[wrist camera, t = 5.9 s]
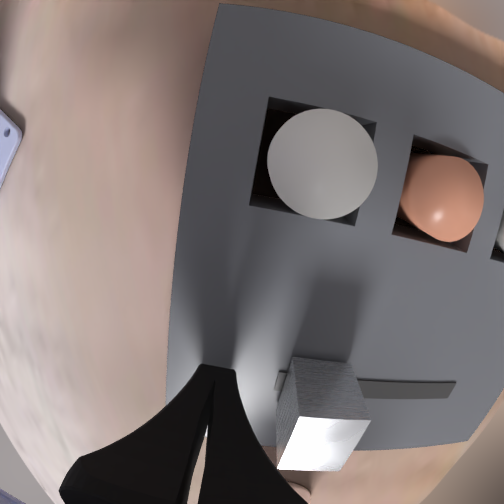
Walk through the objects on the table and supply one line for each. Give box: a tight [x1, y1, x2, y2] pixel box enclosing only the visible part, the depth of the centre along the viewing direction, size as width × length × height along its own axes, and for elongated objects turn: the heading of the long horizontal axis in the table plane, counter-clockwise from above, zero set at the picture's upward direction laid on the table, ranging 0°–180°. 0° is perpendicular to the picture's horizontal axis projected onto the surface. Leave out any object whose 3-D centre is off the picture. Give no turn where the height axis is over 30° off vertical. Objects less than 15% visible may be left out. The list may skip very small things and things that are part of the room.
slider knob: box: [276, 357, 371, 471], centre depth 11 cm, size 2×3×3 cm
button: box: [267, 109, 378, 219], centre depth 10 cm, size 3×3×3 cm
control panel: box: [166, 3, 504, 450], centre depth 13 cm, size 18×18×3 cm
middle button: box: [396, 153, 484, 242], centre depth 11 cm, size 3×3×3 cm
